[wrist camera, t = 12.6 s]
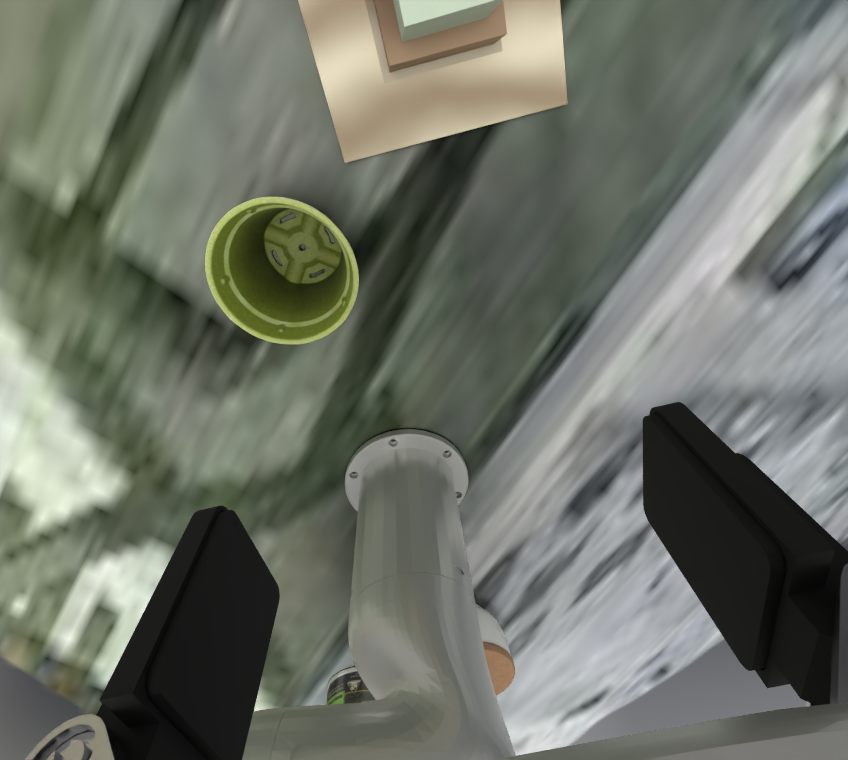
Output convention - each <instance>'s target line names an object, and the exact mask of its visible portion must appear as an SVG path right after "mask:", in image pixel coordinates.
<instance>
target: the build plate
mask: <svg viewBox="0 0 848 760" xmlns="http://www.w3.org/2000/svg"><path fill="white" fill-rule="evenodd" d="M298 2H299V5H300V9H301V12H302V16H303V19H304V23H305V26H306V29H307V33H308V36H309V40H310V43H311V47H312V50H313V54H314V57H315V61H316V64H317V68H318V71H319V75H320V78H321V82H322V85H323V89H324V92H325V96H326V99H327V103H328V106H329V109H330V113H331V116H332V120H333V123H334V127H335V130H336V134H337V137H338V141H339V144H340V148H341V151H342V155H343V158H344V162H345V163H347V162H350V161H354V160H358V159H362V158H365V157H369V156H373V155H377V154H381V153H384V152H388V151H392V150H396V149H400V148H403V147H407V146H411V145H415V144H418V143H422V142H426V141H430V140H434V139H437V138H441V137H445V136H449V135H452V134H456V133H460V132H464V131H468V130H471V129H475V128H479V127H483V126H486V125H490V124H494V123H498V122H502V121H505V120H509V119H513V118H517V117H521V116H524V115H528V114H532V113H536V112H539V111H543V110H547V109H551V108H555V107H558V106H562V105H566V104H567V90H566V77H565V63H564V49H563V35H562V22H561V8H560V0H503V3H504V12H505V20H506V29H507V34H506V35H505V36H504V37H502V38H501V39H500V40H498V41H497V42H496V43H495V44H492V45H489V46H485V47H481V48H478V49H474V50H470V51H467V52H463V53H459V54H456V55H452V56H448V57H445V58H441V59H437V60H434V61H430V62H426V63H423V64H419V65H416V66H412V67H408V68H405V69H401V70H397V71H394V72H389V68H388V63H387V59H386V55H385V50H384V46H383V41H382V37H381V32H380V28H379V24H378V19H377V15H376V10H375V6H374V1H373V0H298Z"/></svg>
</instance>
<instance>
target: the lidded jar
mask: <svg viewBox="0 0 848 760" xmlns="http://www.w3.org/2000/svg"><path fill="white" fill-rule="evenodd" d="M475 604H476V603H475ZM476 609H477V615H478V621H479V626H480V631H481V636H482V641H483V646H484V651H485V656H486V660H487V664H488V669H489V673H490V677H491V681H492V684H493V688H494V691H495V695H498V694H500V693H501V692H502V691H504V690H505V689H506V688H507V687H508V686H509V685H510V684H511V682H512V680H513V679H514V675H515V667H514V663H513V659H512V657H511V654H510V650H509V646H508V643H507V640H506V637H505V634H504V632H503V630H502V628H501V626H500V625H499V623H498V622H497V620H496V619H495V618H494V617H493V616H492V615H491V614H490V613H489V612H487V611H486V610H484V609H483V608H481V607H480V606H479V605H478V604H476Z"/></svg>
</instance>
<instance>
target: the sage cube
mask: <svg viewBox="0 0 848 760" xmlns="http://www.w3.org/2000/svg"><path fill="white" fill-rule="evenodd" d="M502 1H503V0H393V3H394V7H395V12H396V16H397V21H398V26H399V30H400V35H401V39H402V42H405V41H409V40H412V39H416V38H419V37H423V36H426V35H429V34H433V33H436V32H440V31H443V30H447V29H450V28H453V27H457V26H460V25H464V24H467V23H471V22H474V21H477V20H481V19H484V18H487V17H488V16H489V15H490V14H491V13H492V12H493V11H494V10H495V9H496V8H497V7H498V5H499V4H500V3H501V2H502Z"/></svg>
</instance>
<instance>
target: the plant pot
mask: <svg viewBox="0 0 848 760" xmlns="http://www.w3.org/2000/svg"><path fill="white" fill-rule="evenodd" d="M289 214H295V215H296V217H295V218H292V219H289V220H287V221H285V222H284V223H282V224H281V223H280V220H281V219H282V218H283V217H285V216H287V215H289ZM325 227H327V228H328V229H329V230H330V231H331V233H332V235H333V237H334V241H335V242H334V244H332V243H331V241H330V238H329V236H328V234H327V232H326V231H325V229H324V228H325ZM300 245H305V246H306V249H305V250H303V251H302V250H300V249H299V246H300ZM272 250H275V251H276V253H277V255H278V258H279V260H280V261H281V264H282V265H283V266H281V265H279V264H278V263H277V262H276V261H275V259H274V258H273V255H272ZM321 269H325V272H324V273H322V274H320V275H318V276H317V277H314V278H311V277H310V276H309V275H310V274H312V273H315V272H318V271H320V270H321ZM205 271H206V277H207V281H208V284H209V287H210V289H211V292H212V294H213V296H214V298H215V300H216V302H217V303H218V305H219V306H220V307H221V309H222V310H223V311H224V313H225V314H226V315H227V316H228V317H229V318H230V319H231V320H232V321H233V322H234V323H235V324H237V325H238V326H239V327H241V328H242V329H244V330H245V331H247V332H248V333H250V334H252V335H254V336H256V337H258V338H260V339H263V340H266V341H269V342H273V343H280V344H304V343H309V342H312V341H315V340H317V339H320V338H322V337H325V336H326V335H328V334H330V333H331V332H333V331H334V330H335V329H336V328H338V327H339V326H340V325H341V324H342V323H343V322H344V321H345V319H346V318H347V316H348V315H349V313H350V312H351V310H352V308H353V306H354V303H355V300H356V298H357V293H358V286H359V274H358V267H357V262H356V259H355V256H354V252H353V250H352V248H351V246H350V244H349V242H348V241H347V239H346V237H345V236H344V235H343V233H342V232H341V231H340V229H339V228H338V227H337V226H336V225H335V224H334V223H333V222H332V221H331V220H330V219H329V218H328V217H327V216H326V215H324V214H323V213H321V212H320V211H319V210H317V209H315V208H314V207H312V206H310V205H308V204H306V203H303V202H301V201H298V200H295V199H291V198H286V197H277V196H268V197H260V198H255V199H252V200H248V201H246V202H244V203H241V204H240V205H238V206H236V207H234V208H233V209H231V210H230V211H229V212H227V213H226V214H225V215H224V216H223V217H222V218H221V219H220V221H219V222H218V223H217V225H216V226H215V228H214V230H213V231H212V233H211V235H210V238H209V241H208V244H207V248H206V254H205Z"/></svg>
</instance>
